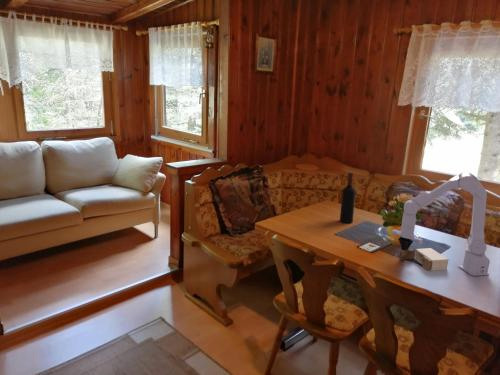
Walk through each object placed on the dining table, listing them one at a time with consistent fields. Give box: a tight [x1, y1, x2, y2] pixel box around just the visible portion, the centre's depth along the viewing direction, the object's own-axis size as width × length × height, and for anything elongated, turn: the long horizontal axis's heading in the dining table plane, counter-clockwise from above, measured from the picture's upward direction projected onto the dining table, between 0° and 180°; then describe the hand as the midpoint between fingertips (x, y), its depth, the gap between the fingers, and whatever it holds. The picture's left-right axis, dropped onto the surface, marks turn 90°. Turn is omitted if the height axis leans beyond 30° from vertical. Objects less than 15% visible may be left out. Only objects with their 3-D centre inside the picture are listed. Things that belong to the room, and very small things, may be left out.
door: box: [398, 248, 416, 261], centre depth 173 cm, size 8×1×5 cm, turn 103°
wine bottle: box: [339, 172, 356, 225], centre depth 219 cm, size 8×8×30 cm
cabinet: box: [413, 247, 449, 271], centre depth 169 cm, size 12×10×5 cm
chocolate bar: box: [356, 237, 393, 254], centre depth 189 cm, size 9×1×18 cm
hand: (404, 252), depth 175 cm, fingers closed
